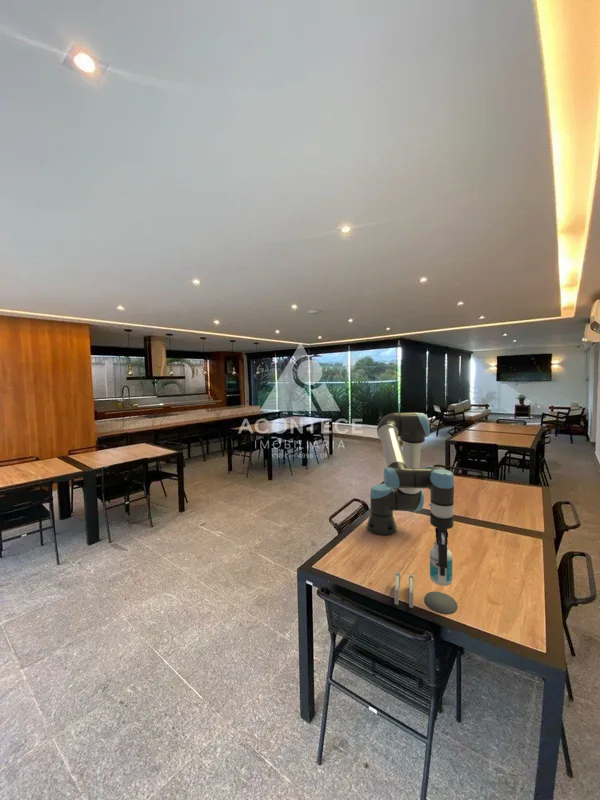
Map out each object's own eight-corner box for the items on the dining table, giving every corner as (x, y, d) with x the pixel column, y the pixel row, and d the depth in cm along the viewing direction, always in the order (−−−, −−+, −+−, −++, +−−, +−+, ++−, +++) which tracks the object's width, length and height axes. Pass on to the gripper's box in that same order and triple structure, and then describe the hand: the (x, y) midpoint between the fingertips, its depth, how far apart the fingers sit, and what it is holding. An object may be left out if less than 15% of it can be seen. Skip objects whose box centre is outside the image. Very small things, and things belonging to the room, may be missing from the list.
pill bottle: (446, 573, 121) (446, 538, 120) (456, 586, 114) (456, 549, 113) (426, 574, 121) (426, 539, 120) (435, 587, 114) (435, 549, 113)
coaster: (423, 590, 125) (423, 589, 125) (455, 596, 122) (455, 594, 122) (424, 609, 115) (424, 608, 115) (459, 616, 111) (459, 615, 111)
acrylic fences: (395, 584, 129) (395, 571, 128) (413, 588, 127) (413, 574, 126) (394, 604, 118) (394, 589, 117) (413, 608, 116) (413, 593, 115)
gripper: (428, 502, 126) (428, 559, 128) (432, 525, 107) (431, 591, 109) (450, 504, 124) (449, 562, 126) (457, 528, 105) (456, 596, 107)
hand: (440, 576), depth 117 cm, fingers closed on pill bottle, 7 cm apart
